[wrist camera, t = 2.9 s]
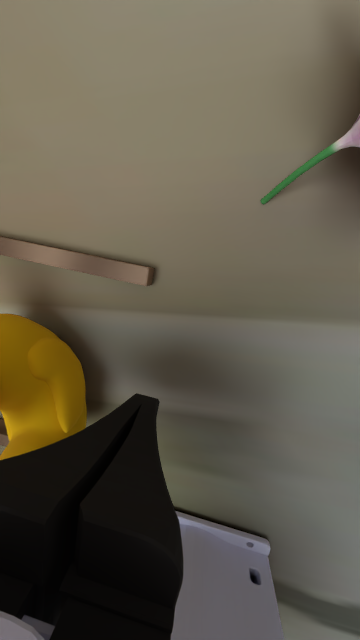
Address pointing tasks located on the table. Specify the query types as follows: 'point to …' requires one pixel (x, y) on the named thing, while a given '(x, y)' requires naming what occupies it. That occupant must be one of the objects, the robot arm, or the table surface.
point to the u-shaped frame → (76, 263)
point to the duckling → (38, 386)
